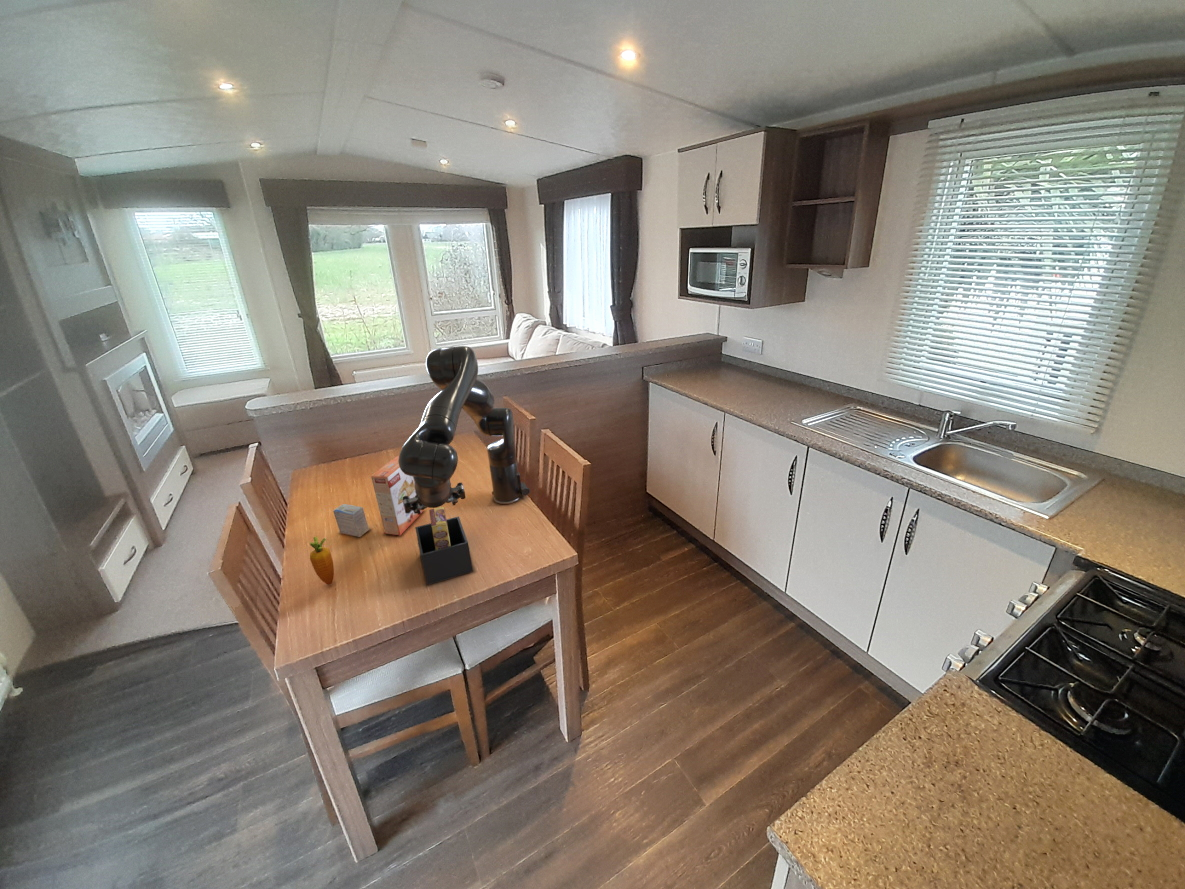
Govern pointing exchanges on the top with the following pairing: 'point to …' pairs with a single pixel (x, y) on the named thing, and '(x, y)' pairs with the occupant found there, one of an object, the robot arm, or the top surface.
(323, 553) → the carrot
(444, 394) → the robot arm
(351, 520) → the medicine box
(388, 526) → the cracker box
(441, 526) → the candy box
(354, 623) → the top surface
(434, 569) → the waste bin
